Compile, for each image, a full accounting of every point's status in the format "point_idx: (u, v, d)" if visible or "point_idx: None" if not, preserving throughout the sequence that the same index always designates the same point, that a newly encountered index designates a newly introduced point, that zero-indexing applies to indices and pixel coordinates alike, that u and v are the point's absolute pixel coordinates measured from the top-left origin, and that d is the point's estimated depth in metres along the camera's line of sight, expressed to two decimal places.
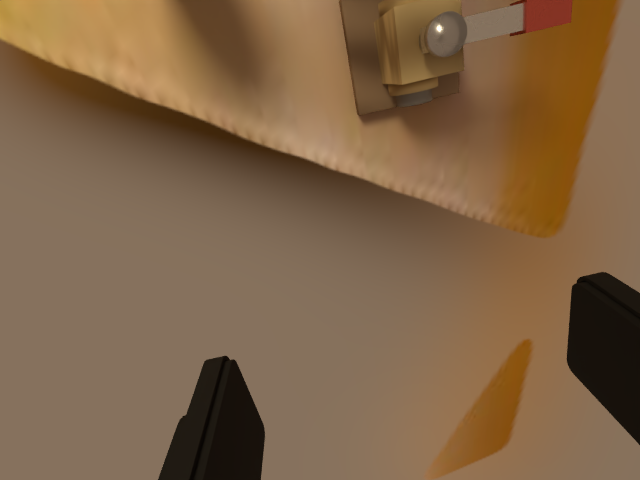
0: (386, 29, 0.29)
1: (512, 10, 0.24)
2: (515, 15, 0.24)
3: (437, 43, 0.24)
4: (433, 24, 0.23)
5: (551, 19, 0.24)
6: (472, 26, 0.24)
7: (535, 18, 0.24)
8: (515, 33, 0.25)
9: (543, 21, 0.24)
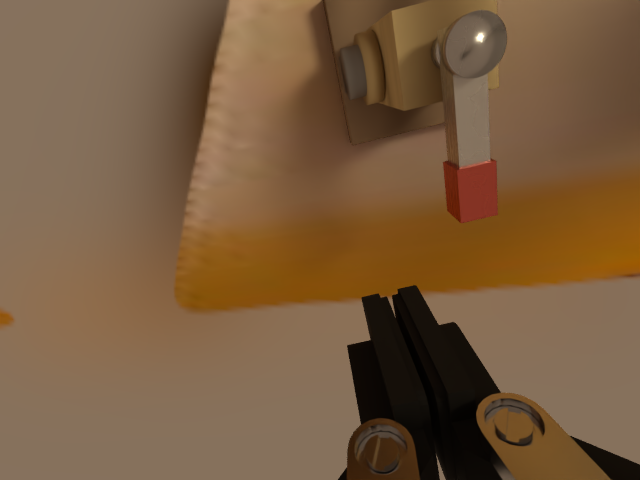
0: None
1: (484, 146, 0.18)
2: (477, 152, 0.18)
3: (467, 29, 0.15)
4: (493, 18, 0.15)
5: (467, 198, 0.19)
6: (474, 92, 0.17)
7: (471, 177, 0.18)
8: (449, 164, 0.19)
9: (466, 189, 0.19)
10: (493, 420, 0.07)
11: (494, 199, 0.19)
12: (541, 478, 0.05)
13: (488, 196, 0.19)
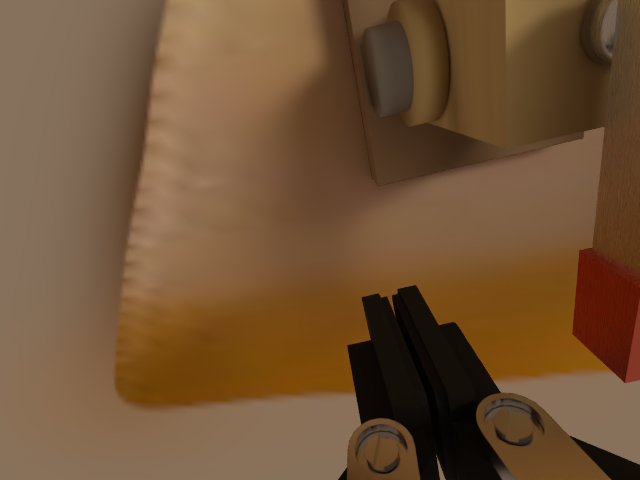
0: None
1: None
2: None
3: None
4: None
5: None
6: None
7: None
8: (603, 261, 0.09)
9: None
10: (493, 420, 0.07)
11: None
12: (541, 478, 0.05)
13: None
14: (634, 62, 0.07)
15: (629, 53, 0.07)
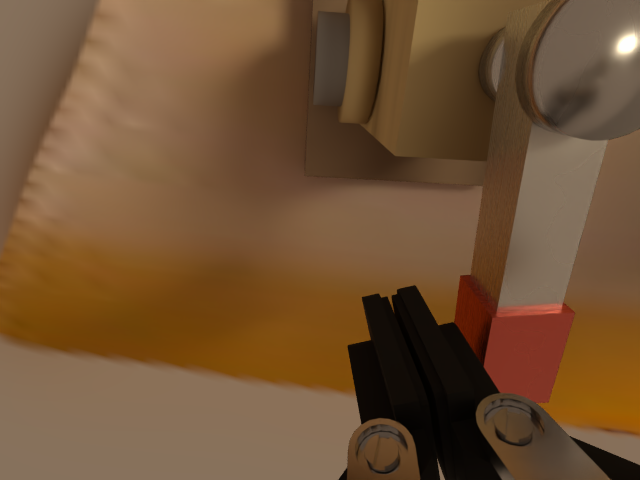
0: None
1: (557, 280, 0.08)
2: (541, 288, 0.09)
3: (611, 9, 0.06)
4: None
5: (499, 369, 0.09)
6: (568, 169, 0.07)
7: (517, 335, 0.09)
8: (474, 288, 0.10)
9: (502, 353, 0.09)
10: (493, 420, 0.07)
11: (550, 377, 0.09)
12: (540, 479, 0.05)
13: (541, 371, 0.09)
14: (508, 102, 0.08)
15: (506, 93, 0.08)
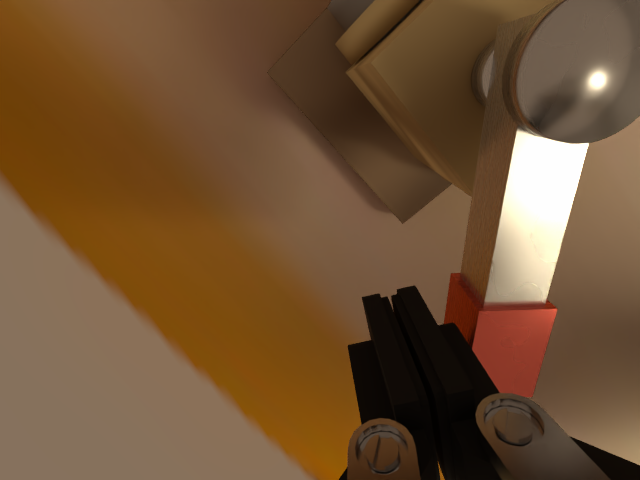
0: None
1: (540, 277, 0.09)
2: (526, 284, 0.09)
3: (587, 24, 0.06)
4: None
5: (485, 363, 0.10)
6: (551, 171, 0.08)
7: (502, 329, 0.09)
8: (463, 285, 0.10)
9: (488, 347, 0.10)
10: (493, 420, 0.07)
11: (534, 372, 0.10)
12: (540, 479, 0.05)
13: (525, 366, 0.10)
14: (497, 108, 0.08)
15: (495, 99, 0.08)
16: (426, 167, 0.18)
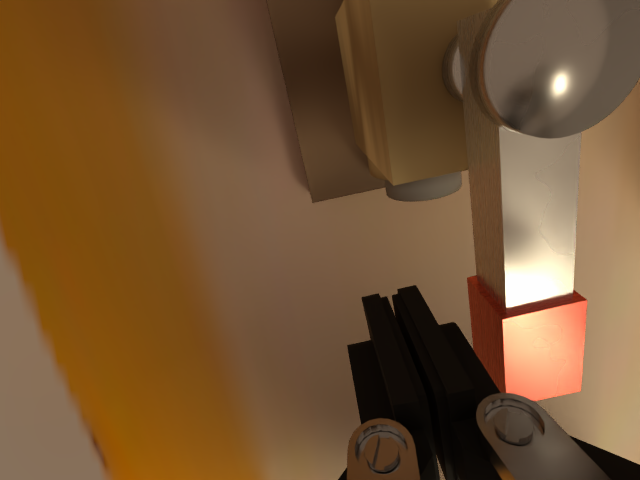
0: None
1: (561, 271, 0.08)
2: (547, 282, 0.08)
3: (548, 12, 0.05)
4: None
5: (522, 367, 0.09)
6: (547, 163, 0.07)
7: (531, 331, 0.09)
8: (481, 289, 0.10)
9: (521, 352, 0.09)
10: (493, 420, 0.07)
11: (576, 366, 0.09)
12: (541, 478, 0.05)
13: (566, 362, 0.09)
14: (474, 108, 0.08)
15: (471, 99, 0.08)
16: (361, 160, 0.17)
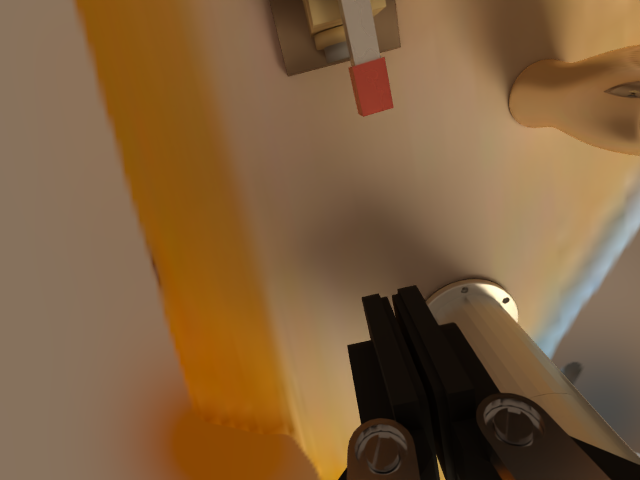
0: None
1: (373, 44, 0.22)
2: (368, 50, 0.22)
3: None
4: None
5: (365, 93, 0.22)
6: None
7: (365, 73, 0.22)
8: None
9: (363, 84, 0.22)
10: (493, 420, 0.07)
11: (388, 93, 0.23)
12: (541, 478, 0.05)
13: (383, 90, 0.22)
14: None
15: None
16: (314, 48, 0.30)
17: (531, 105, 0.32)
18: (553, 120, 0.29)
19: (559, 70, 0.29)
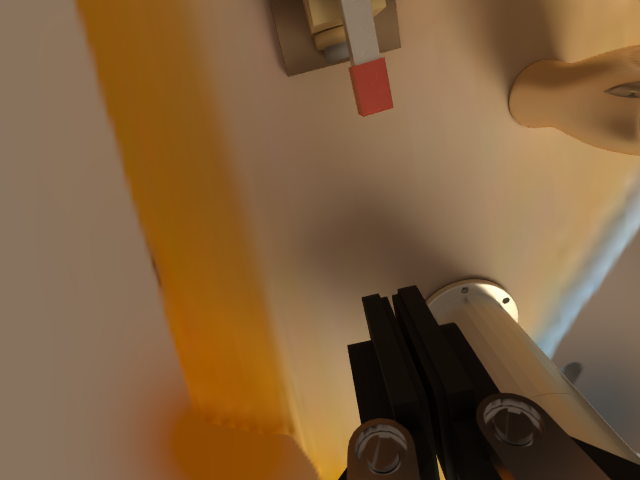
0: None
1: (373, 45, 0.22)
2: (368, 50, 0.22)
3: None
4: None
5: (365, 93, 0.22)
6: None
7: (365, 73, 0.22)
8: None
9: (363, 84, 0.22)
10: (493, 420, 0.07)
11: (388, 93, 0.23)
12: (541, 478, 0.05)
13: (383, 90, 0.22)
14: None
15: None
16: (314, 48, 0.30)
17: (531, 105, 0.32)
18: (553, 120, 0.29)
19: (559, 70, 0.29)
